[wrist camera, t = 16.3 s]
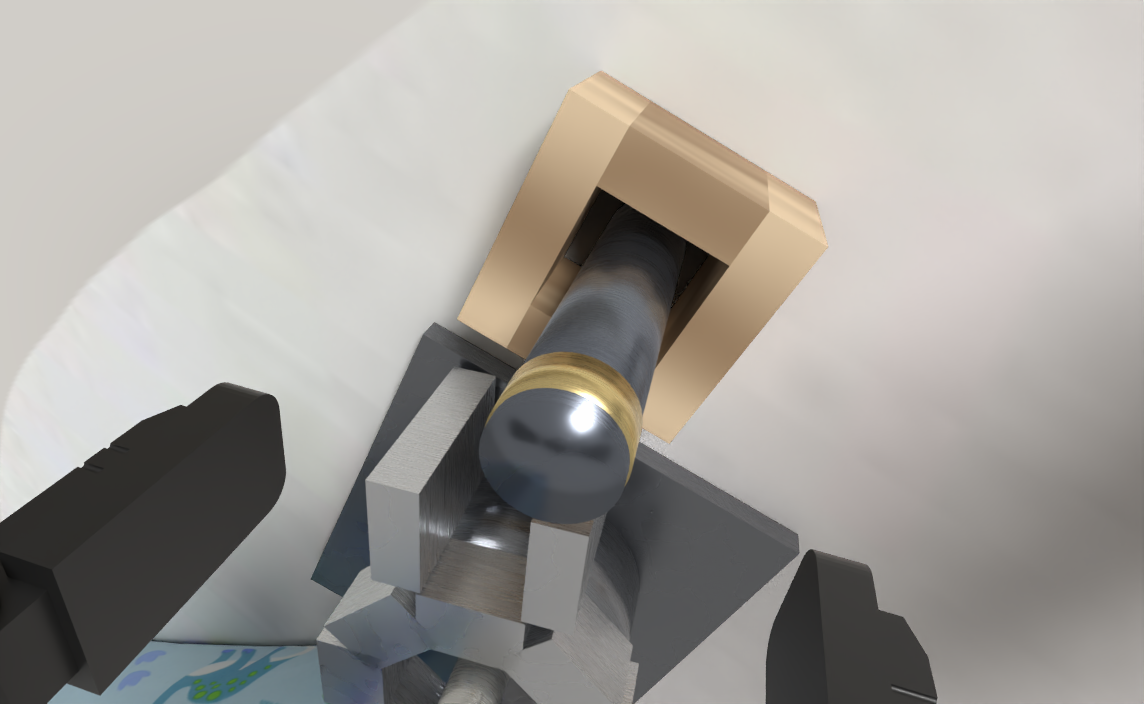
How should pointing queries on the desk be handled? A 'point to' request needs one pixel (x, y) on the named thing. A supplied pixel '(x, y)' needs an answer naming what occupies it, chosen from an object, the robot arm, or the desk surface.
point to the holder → (671, 198)
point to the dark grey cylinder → (586, 380)
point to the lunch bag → (211, 677)
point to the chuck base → (623, 557)
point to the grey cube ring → (465, 581)
